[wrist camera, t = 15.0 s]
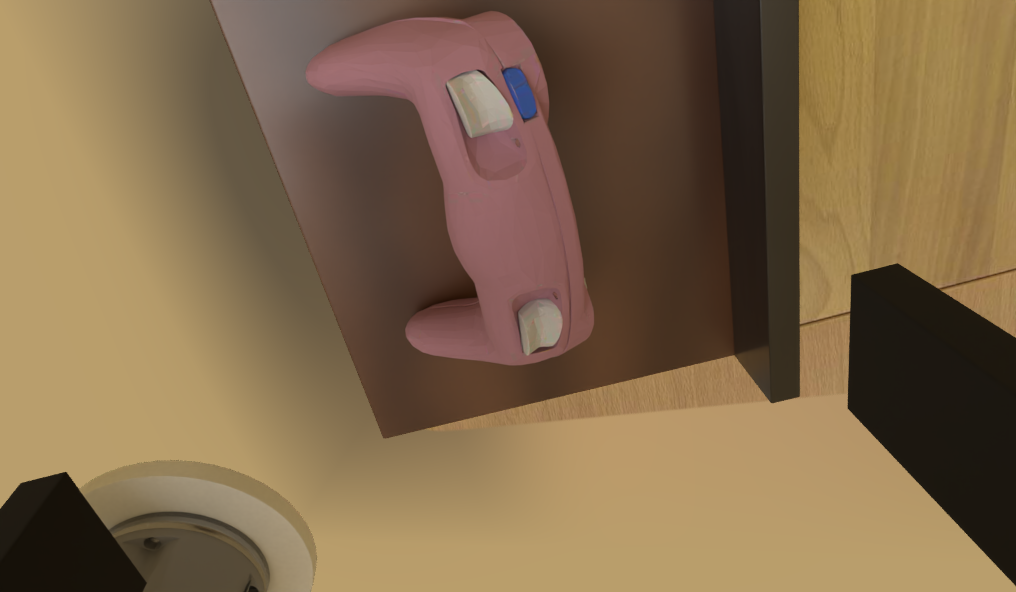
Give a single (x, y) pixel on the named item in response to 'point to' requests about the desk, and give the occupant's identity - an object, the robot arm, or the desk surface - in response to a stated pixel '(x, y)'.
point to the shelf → (591, 183)
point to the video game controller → (482, 179)
